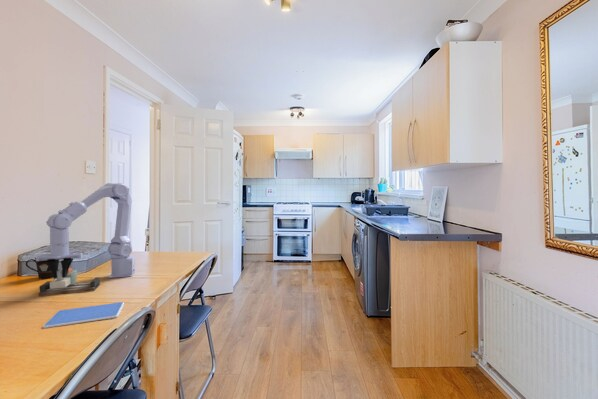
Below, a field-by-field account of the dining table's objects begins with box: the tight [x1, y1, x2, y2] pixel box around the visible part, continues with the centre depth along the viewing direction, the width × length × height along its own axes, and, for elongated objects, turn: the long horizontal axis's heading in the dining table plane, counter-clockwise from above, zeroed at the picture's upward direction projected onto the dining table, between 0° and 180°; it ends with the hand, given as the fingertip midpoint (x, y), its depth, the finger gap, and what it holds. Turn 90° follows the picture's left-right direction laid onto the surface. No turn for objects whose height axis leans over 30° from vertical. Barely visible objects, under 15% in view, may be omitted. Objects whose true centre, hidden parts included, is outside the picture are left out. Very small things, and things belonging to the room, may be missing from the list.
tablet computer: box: [42, 301, 125, 329], centre depth 93 cm, size 19×13×1 cm, turn 113°
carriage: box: [50, 268, 71, 289], centre depth 113 cm, size 5×5×6 cm
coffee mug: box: [25, 253, 60, 280], centre depth 131 cm, size 12×9×10 cm
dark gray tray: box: [37, 276, 101, 297], centre depth 115 cm, size 18×8×4 cm, turn 111°
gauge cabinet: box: [53, 269, 78, 284], centre depth 121 cm, size 6×6×5 cm
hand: (60, 277), depth 113 cm, fingers closed on carriage, 2 cm apart
